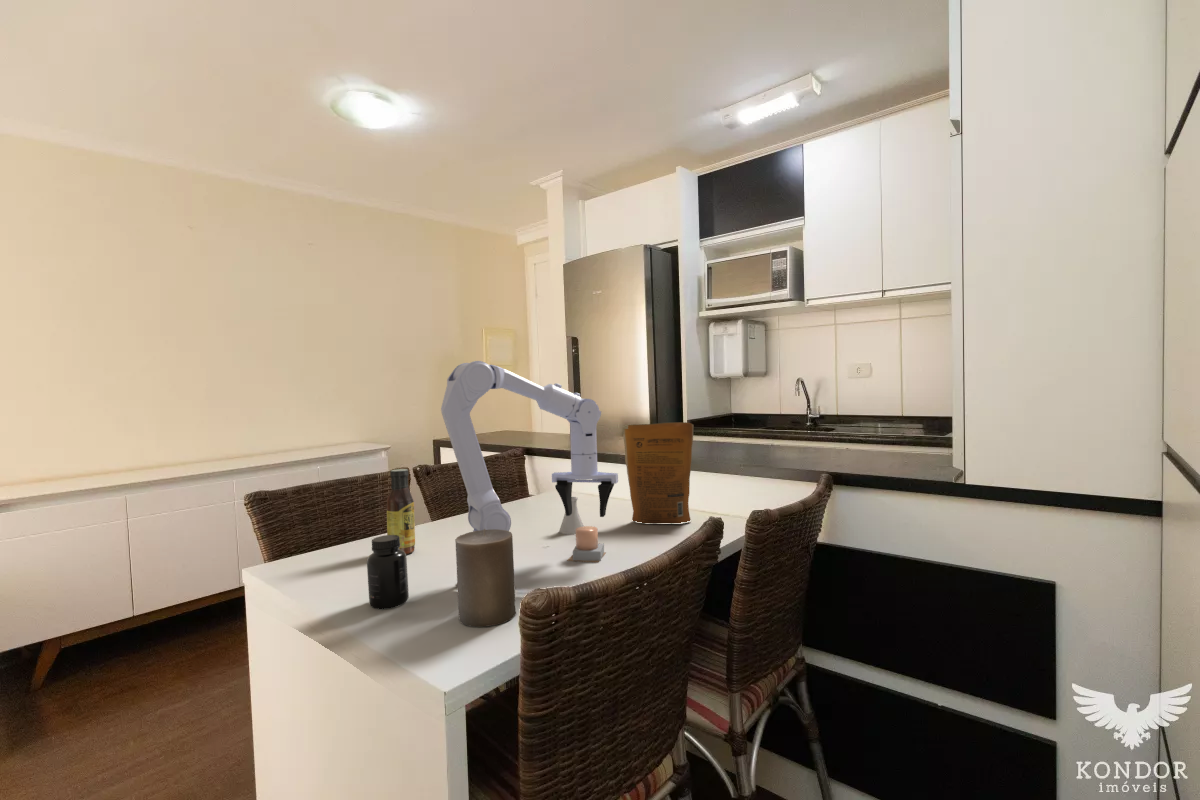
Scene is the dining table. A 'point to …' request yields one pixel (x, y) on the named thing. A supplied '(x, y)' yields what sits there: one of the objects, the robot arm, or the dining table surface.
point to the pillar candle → (485, 577)
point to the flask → (571, 520)
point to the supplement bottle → (387, 573)
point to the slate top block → (589, 554)
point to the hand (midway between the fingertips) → (585, 515)
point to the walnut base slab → (583, 561)
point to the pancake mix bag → (659, 471)
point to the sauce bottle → (401, 511)
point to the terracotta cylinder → (586, 538)
